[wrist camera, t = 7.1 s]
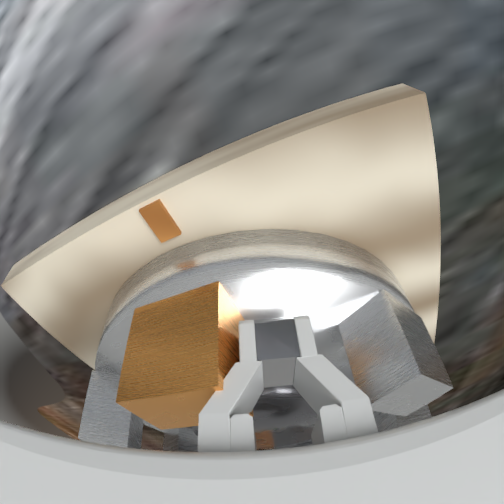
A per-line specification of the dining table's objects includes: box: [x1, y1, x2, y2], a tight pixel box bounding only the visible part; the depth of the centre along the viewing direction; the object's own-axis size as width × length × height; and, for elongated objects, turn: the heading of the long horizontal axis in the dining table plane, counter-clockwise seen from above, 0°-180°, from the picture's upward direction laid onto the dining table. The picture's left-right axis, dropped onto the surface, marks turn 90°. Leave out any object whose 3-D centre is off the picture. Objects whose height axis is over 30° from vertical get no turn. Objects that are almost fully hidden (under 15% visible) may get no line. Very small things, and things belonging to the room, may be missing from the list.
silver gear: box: [78, 229, 453, 452], centre depth 16 cm, size 19×19×7 cm
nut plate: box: [1, 84, 441, 370], centre depth 20 cm, size 24×24×2 cm
